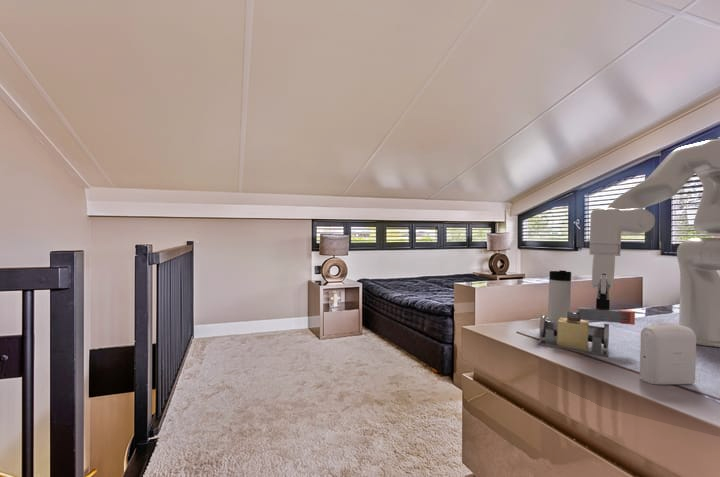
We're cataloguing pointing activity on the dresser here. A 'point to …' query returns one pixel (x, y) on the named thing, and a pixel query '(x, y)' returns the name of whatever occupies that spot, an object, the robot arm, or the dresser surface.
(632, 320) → the lever
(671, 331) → the photo printer
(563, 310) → the travel mug
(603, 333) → the grey vise
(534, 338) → the dresser surface
